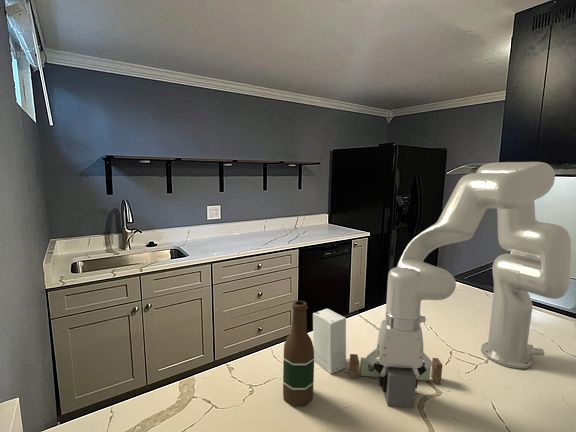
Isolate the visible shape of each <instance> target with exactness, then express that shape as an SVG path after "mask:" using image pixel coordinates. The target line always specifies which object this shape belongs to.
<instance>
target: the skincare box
mask: <svg viewBox="0 0 576 432" xmlns="http://www.w3.org/2000/svg"><path fill="white" fill-rule="evenodd" d="M312 343H313V348H314V363H316V364H318V365H319V366H320V367H322V368H323V370H326V372H327V373H329V374H334V373H336V372H339V371H341V370H344V369H346V367H347V317H345V316H343V315H341V314H339V313H337V312H335V311H333V310H332V309H329V308H324V309H322V310H318V311H316V312H313V313H312Z"/></svg>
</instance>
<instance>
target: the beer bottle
mask: <svg viewBox="0 0 576 432" xmlns="http://www.w3.org/2000/svg"><path fill="white" fill-rule="evenodd" d="M291 309H292V311H293V312H292V321H291V322H292V323H291V330H290V333H289V335H288V336H287V337H286V339H285V341H284V344H283V367H282V368H283V376H282V398H283V401H284V402H286V403H287V404H289V405H290V406H292V407H306V406H307V405H308V404H309V403H311V401H313V398H314V382H315V381H314V380H315V379H314V378H315V373H314V372H315V361H314V348H313V339H312V338H311V337H310V335H309V334H308V320H307V317H308V316H307V310H308V309H309V307H308V304H307V302H306V301H303V300H296V301H293V303H292V307H291Z"/></svg>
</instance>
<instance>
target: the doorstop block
mask: <svg viewBox="0 0 576 432" xmlns="http://www.w3.org/2000/svg"><path fill="white" fill-rule="evenodd" d="M386 376H387V388H386V392H383V391H382V393H383V396H384V399H385V402H386V405H387V407H395V408H397V407H398V408H408V409H409V408H410V409H414V408H415V400H416V399H415V397H416V389H415V387H416V375H415V373H414V371H412V368H399V367H389V369H388V370H387V373H386Z"/></svg>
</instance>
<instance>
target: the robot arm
mask: <svg viewBox="0 0 576 432" xmlns="http://www.w3.org/2000/svg"><path fill="white" fill-rule="evenodd" d="M555 179H556V174H555V171H554V169H553V167H552V166H551V165H550V164H548V163H547V162H541V161H505V162H504V161H503V162H502V161H501V162H490V163H486V164H482V165H481V166H480V167H478V168H477V170H476V172H471V173H468V174H465V175H463V176H462V177H461V178H460V179H459V180H458V182H457V183H456V185H455V187H454V189H453V191H452V193H451V195H450V197H449V198H448V200H447V203H446V205H445V206H444V208H443V210H442V212H441V214H440V216H439V217H438V220H437V221H436V222H435V223H434V224H432V225H430V226H429V227H427V228H426V229H424V230H423V231H421V232H420V233H419V234H417V235H416V236H415V237H413V238H412V239H411V240H410V241H409V243H407V245H406V247H405V249H404V250H403V252H402V255H400V258H399V260H398V262H397V265H396V266H395V267H393V268H391V269H390V270H389V271H388V275H387V288H386V303H385V304H386V305H385V319H384V320H382V321H381V322H380V323H381V324H380V326H379V331H378V337H377V341H376V347H375V349H373V350H372V352H370V353H369V354H368V355H366V358H367V361H368V362H369V363H370V364H371V365H372V366H373V367H374V369H375V370H376V371H377V372H378V373H379V377H378V386H379V387H381V389H382V393H383V392H386V388H387V376H386V373H387V370H388V369H389V367H399V368H412V371H414V373H415V375H416V387H415V390H416V389H418V381H419V380H418V379H419V378H420V375H422V374H423V373H424V372H425V371H426V369H428V368H430V367H431V368H432V365H433V363H432V360H431V358H430V357H429V356H428V355H427V354H426V353H425V352H424V339H423V337H424V336H423V330H422V329H423V328H422V327H421V324H422V323H425V322H427V321H426V320H427V319H426V316H424V315H421V307H422V306H421V303H422V301H442V300H445V299H448V298H449V297H450V296H452V295H453V293H455V290H456V288H457V287H456V286H457V283H456V279H455V277H454V275H453V274H452V273H451V272H449V271H448V270H446V269H443V268H441V267H438V266H435V265H432V264H430V263H427V262H425V261H424V260H425V259H426V258H427V256H428V255H429V254H430V253H432V252H433V251H434V250H436V249H437V248H438V249H439V248H440V247H443V246H446V245H451V244H455V243H461V242H464V241H468V240H471V239H472V238H473V236H474V234H475V232H476V231H477V229H478V227H479V224H480V222H481V220H482V219H483V216H484V214H485V212H486V210H488V209H494V210H495V209H496V210H497V211H496V213H497V240H498V244H499V246H500V247H501V249H503V250H505V251H508V252H512V253H503V254H500V255H498V256H496V258H495V259H494V260H493V263H492V270H491V271H492V277H493V279H492V280H493V294H492V295H493V298H492V304H491V313H490V315H491V316H490V321H489V322H490V324H489V329H488V330H489V332H488V338H487V339H488V340H487V342H484V343H482V344H481V352H482V354H483V355H484V356H485V357H486V358H488V360H491V361H492V362H494V363H496V364H499V365H501V366H505V367H508V368H512V369H519V370H520V369H528V368H530V367H531V366H532V364H533V358H532V357H533V355H534V356H545V350H544V349H543V348H539V347H534V345H533V344H528V343H529V334H530V328H531V321H532V315H533V314H532V313H533V302H532V298H531V296H530V294H534V295H537V296H539V297H543V298H546V299H552V300H554V299H555V300H557V299H560V298H563V297H564V296H565V295H566V294H567V293H568V290H569V287H570V280H571V259H572V258H571V255H572V241H571V236H570V234H569V232H568V230H567V229H566V228H565V227H564V226H561V225H559V224H555V223H549V222H544V221H543V222H542V221H538V220H537V219H536V205H535V203H536V202H535V201H536V200H538V199H540V198H542V197H544V196H546V195H547V194H548V193H549V192H550V191H551V189H552V188H553V185H554V184H555ZM375 359H380V364H379V363H378V362H377V361H375Z"/></svg>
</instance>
